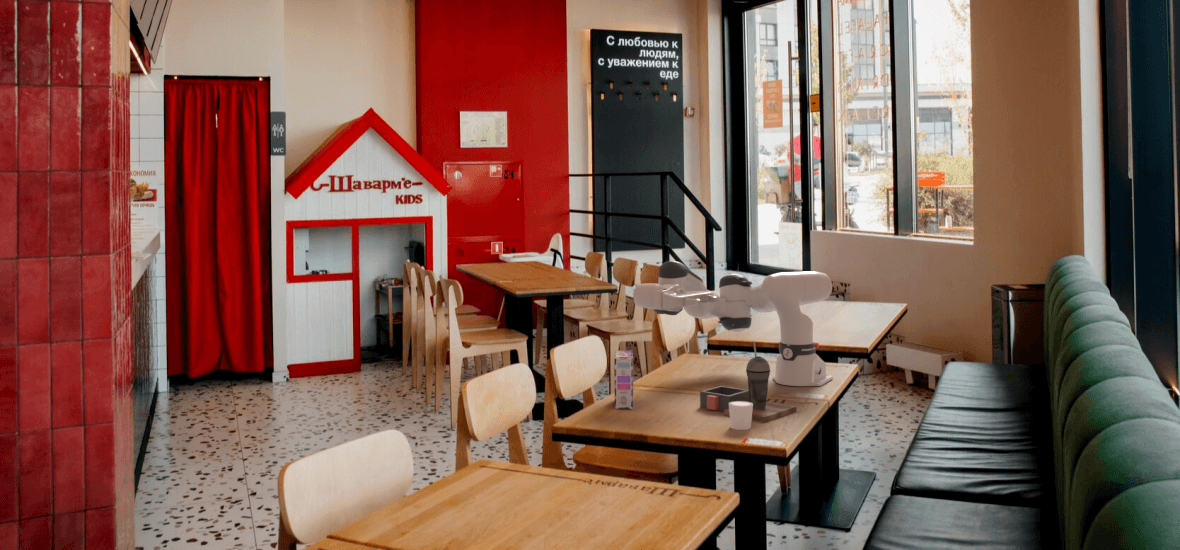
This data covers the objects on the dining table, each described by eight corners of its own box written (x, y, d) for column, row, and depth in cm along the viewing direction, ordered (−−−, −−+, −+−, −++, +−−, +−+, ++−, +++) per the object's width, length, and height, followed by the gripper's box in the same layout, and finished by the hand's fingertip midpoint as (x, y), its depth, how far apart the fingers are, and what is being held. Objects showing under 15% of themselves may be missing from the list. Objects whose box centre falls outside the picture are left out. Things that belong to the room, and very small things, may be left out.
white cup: (740, 431, 253) (741, 407, 252) (723, 427, 258) (723, 402, 258) (758, 427, 257) (758, 403, 256) (740, 423, 262) (740, 399, 262)
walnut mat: (757, 404, 285) (757, 399, 285) (796, 411, 276) (796, 406, 276) (724, 414, 272) (724, 410, 272) (764, 422, 263) (764, 417, 263)
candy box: (633, 409, 281) (632, 357, 279) (614, 409, 281) (613, 357, 280) (633, 399, 295) (633, 349, 293) (615, 399, 295) (615, 349, 293)
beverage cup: (770, 411, 270) (770, 344, 268) (745, 410, 272) (745, 344, 270) (770, 405, 278) (770, 340, 276) (745, 404, 279) (746, 340, 277)
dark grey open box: (720, 401, 291) (720, 385, 290) (749, 406, 283) (749, 390, 283) (696, 408, 281) (696, 392, 281) (725, 413, 274) (725, 397, 273)
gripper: (692, 304, 309) (726, 307, 300) (654, 310, 295) (688, 313, 285) (692, 286, 309) (726, 288, 299) (654, 291, 294) (688, 293, 285)
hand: (707, 300), depth 292 cm, fingers open, 8 cm apart
